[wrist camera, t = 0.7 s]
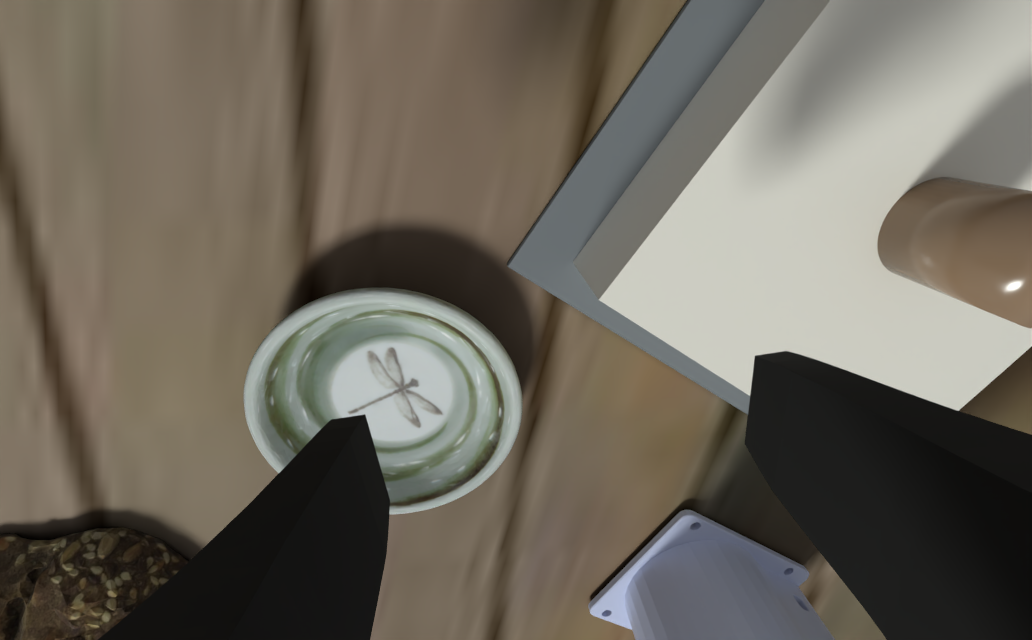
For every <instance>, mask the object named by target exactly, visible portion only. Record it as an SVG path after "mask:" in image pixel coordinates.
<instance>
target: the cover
mask: <svg viewBox="0 0 1032 640" xmlns="http://www.w3.org/2000/svg"><path fill="white" fill-rule="evenodd" d="M573 263H574V265H575V266H576V268H577V269H578V271H579V272H580V274H581V275H582V276H583V278H584V279H585V281H586V282H587V284H588V285H589V287H590V288H591V289H592V291H593V292H594V294H595V295H596V297H597V298H598V300H600V301H601V302H603V303H604V304H606V305H607V306H609V307H611V308H612V309H614V310H615V311H617V312H618V313H620V314H622V315H623V316H625V317H626V318H628V319H629V320H631V321H633V322H634V323H636V324H637V325H639V326H640V327H642V328H644V329H645V330H647V331H648V332H650V333H651V334H653V335H655V336H656V337H658V338H659V339H661V340H663V341H664V342H666V343H667V344H669V345H670V346H672V347H674V348H675V349H677V350H678V351H680V352H681V353H683V354H685V355H686V356H688V357H689V358H691V359H692V360H694V361H696V362H697V363H699V364H700V365H702V366H703V367H705V368H707V369H708V370H710V371H711V372H713V373H714V374H716V375H718V376H719V377H721V378H722V379H724V380H725V381H727V382H729V383H730V384H732V385H733V386H735V387H737V388H738V389H740V390H741V391H743V392H744V393H746V394H748V395H749V396H750V394H751V385H752V376H753V368H754V359H755V356H756V355H763V354H769V353H776V352H783V351H789V352H793V353H796V354H800V355H803V356H806V357H810V358H813V359H816V360H819V361H821V362H824V363H827V364H830V365H833V366H836V367H838V368H841V369H844V370H847V371H849V372H852V373H855V374H857V375H860V376H863V377H866V378H868V379H871V380H874V381H876V382H879V383H882V384H885V385H887V386H890V387H893V388H895V389H898V390H901V391H904V392H906V393H909V394H912V395H914V396H917V397H920V398H923V399H926V400H928V401H931V402H934V403H937V404H940V405H943V406H945V407H948V408H951V409H954V410H957V411H959V410H960V409H961V408H962V407H963V406H964V405H965V404H967V403H968V402H969V401H970V400H971V399H972V398H973V397H975V396H976V395H977V394H978V393H979V392H980V391H981V390H983V389H984V388H985V387H986V386H987V385H988V384H989V383H991V382H992V381H993V380H994V379H995V378H996V377H997V376H999V375H1000V374H1001V373H1002V372H1003V371H1004V370H1005V369H1006V368H1008V367H1009V366H1010V365H1011V364H1012V363H1013V362H1014V361H1016V360H1017V359H1018V358H1019V357H1020V356H1021V355H1022V354H1024V353H1025V352H1026V351H1027V350H1028V349H1029V348H1030V347H1032V0H765V1H764V2H763V3H762V5H761V6H760V8H759V9H758V10H757V12H756V13H755V14H754V16H753V17H752V18H751V20H750V21H749V23H748V24H747V25H746V27H745V28H744V29H743V31H742V32H741V33H740V35H739V36H738V38H737V39H736V40H735V42H734V43H733V44H732V46H731V47H730V48H729V50H728V51H727V53H726V54H725V55H724V57H723V58H722V59H721V61H720V62H719V63H718V65H717V66H716V68H715V69H714V70H713V72H712V73H711V74H710V76H709V77H708V78H707V80H706V81H705V83H704V84H703V85H702V87H701V88H700V89H699V91H698V92H697V93H696V95H695V96H694V98H693V99H692V100H691V102H690V103H689V104H688V106H687V107H686V108H685V110H684V111H683V113H682V114H681V115H680V117H679V118H678V119H677V121H676V122H675V123H674V125H673V126H672V128H671V129H670V130H669V132H668V133H667V134H666V136H665V137H664V138H663V140H662V141H661V143H660V144H659V145H658V147H657V148H656V149H655V151H654V152H653V153H652V155H651V156H650V158H649V159H648V160H647V162H646V163H645V164H644V166H643V167H642V168H641V170H640V171H639V173H638V174H637V175H636V177H635V178H634V179H633V181H632V182H631V183H630V185H629V186H628V188H627V189H626V190H625V192H624V193H623V194H622V196H621V197H620V198H619V200H618V201H617V203H616V204H615V205H614V207H613V208H612V209H611V211H610V212H609V213H608V215H607V216H606V218H605V219H604V220H603V222H602V223H601V224H600V226H599V227H598V228H597V230H596V231H595V233H594V234H593V235H592V237H591V238H590V239H589V241H588V242H587V243H586V245H585V246H584V248H583V249H582V250H581V252H580V253H579V254H578V256H577V257H576V258H575V260H574V261H573Z"/></svg>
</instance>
